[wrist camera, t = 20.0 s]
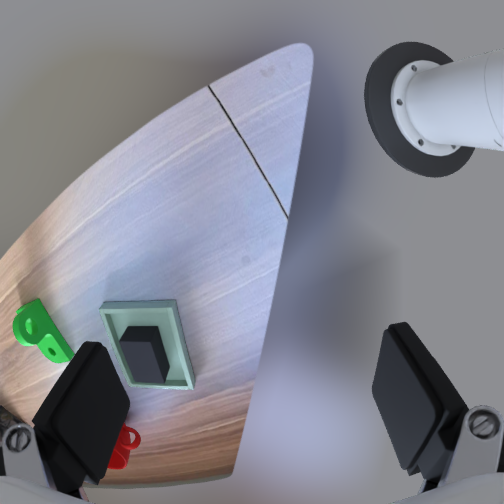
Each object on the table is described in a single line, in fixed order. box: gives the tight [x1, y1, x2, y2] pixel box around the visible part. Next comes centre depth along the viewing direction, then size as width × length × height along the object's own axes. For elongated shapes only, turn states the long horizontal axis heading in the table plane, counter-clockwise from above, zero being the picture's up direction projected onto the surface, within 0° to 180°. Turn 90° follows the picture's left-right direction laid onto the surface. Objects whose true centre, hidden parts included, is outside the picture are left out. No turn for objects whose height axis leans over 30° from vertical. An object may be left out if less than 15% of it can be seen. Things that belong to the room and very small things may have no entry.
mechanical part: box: [13, 298, 74, 363], centre depth 39 cm, size 12×6×8 cm, turn 21°
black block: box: [119, 326, 170, 384], centre depth 40 cm, size 5×8×4 cm, turn 5°
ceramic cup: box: [107, 423, 141, 469], centre depth 45 cm, size 13×17×10 cm
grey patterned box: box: [0, 405, 23, 447], centre depth 51 cm, size 16×25×16 cm, turn 144°
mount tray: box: [99, 300, 195, 390], centre depth 42 cm, size 12×16×2 cm
